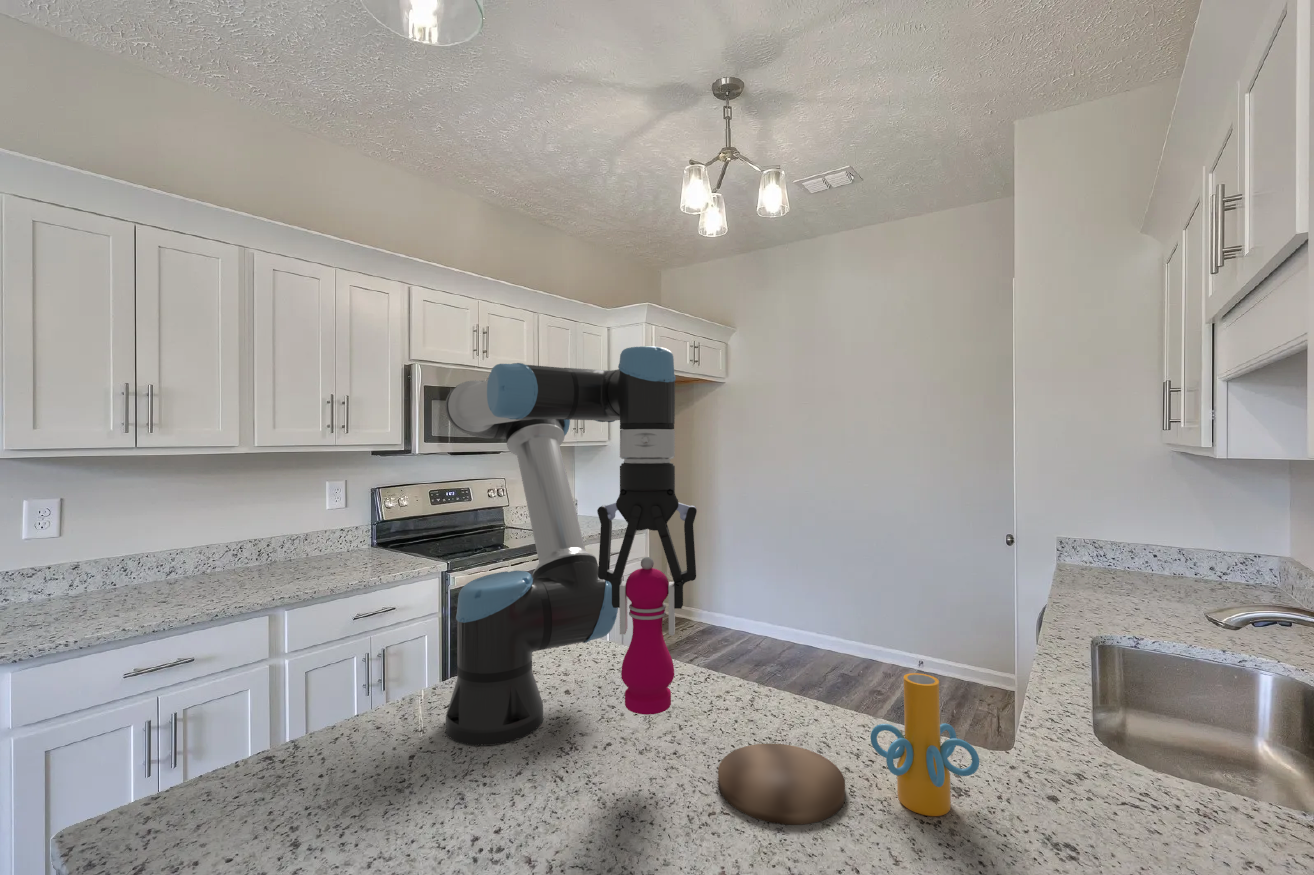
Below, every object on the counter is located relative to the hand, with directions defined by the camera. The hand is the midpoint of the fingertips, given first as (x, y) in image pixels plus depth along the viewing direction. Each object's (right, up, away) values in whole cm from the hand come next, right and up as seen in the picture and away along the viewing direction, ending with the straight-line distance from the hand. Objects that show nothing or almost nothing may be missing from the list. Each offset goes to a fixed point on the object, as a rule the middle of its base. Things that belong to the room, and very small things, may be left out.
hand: (647, 631), depth 80 cm
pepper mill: (0, -10, 0) cm, 10 cm away
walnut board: (+17, -19, -4) cm, 26 cm away
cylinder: (+34, -19, -8) cm, 40 cm away
